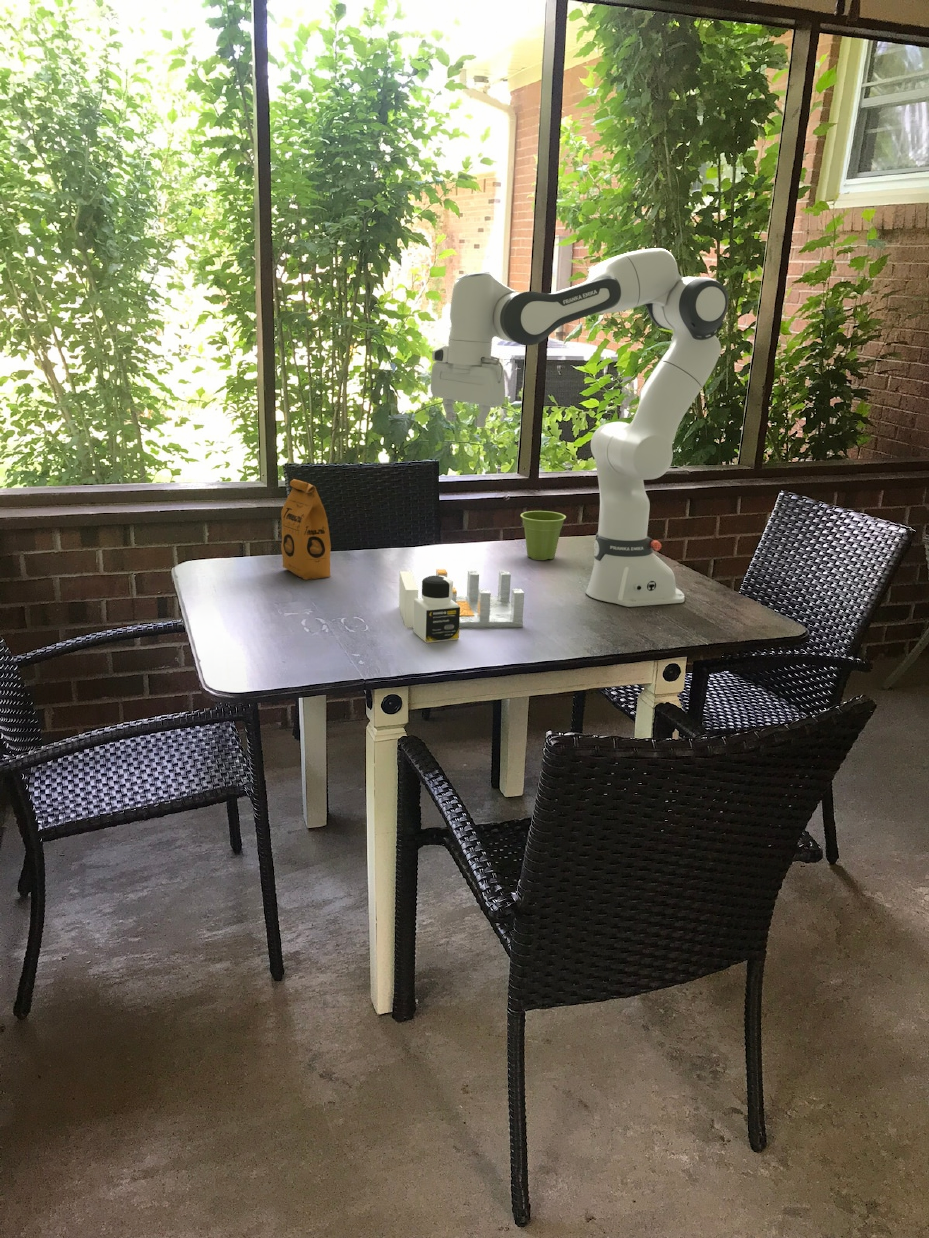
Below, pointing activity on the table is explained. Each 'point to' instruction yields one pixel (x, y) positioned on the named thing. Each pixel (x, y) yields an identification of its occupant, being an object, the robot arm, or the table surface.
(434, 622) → the medicine bottle
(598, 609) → the table surface
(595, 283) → the robot arm
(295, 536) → the coffee package
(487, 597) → the panel rack
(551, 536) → the plant pot
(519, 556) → the table surface
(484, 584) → the table surface
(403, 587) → the panel
